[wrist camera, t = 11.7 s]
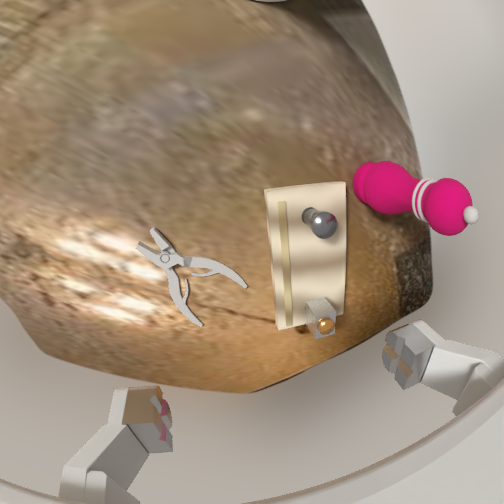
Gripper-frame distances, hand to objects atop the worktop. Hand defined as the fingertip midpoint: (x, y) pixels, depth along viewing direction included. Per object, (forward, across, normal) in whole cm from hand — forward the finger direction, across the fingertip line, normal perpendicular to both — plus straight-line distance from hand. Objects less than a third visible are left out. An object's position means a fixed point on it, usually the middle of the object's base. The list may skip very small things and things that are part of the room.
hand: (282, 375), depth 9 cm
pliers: (+30, +5, +9) cm, 31 cm away
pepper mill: (+29, -22, 0) cm, 37 cm away
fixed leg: (+28, -12, +3) cm, 30 cm away
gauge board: (+29, -12, +10) cm, 33 cm away
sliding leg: (+27, -12, +17) cm, 34 cm away
